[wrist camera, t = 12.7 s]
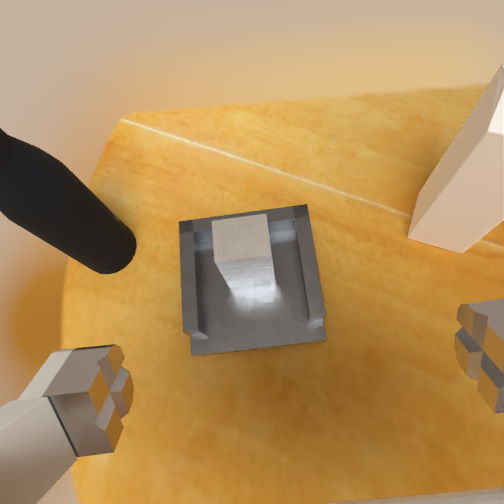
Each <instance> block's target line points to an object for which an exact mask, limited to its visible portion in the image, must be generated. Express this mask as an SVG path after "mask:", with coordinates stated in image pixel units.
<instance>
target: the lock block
mask: <svg viewBox="0 0 504 504" xmlns="http://www.w3.org/2000/svg"><path fill="white" fill-rule="evenodd" d="M212 234H213V248H214V262H215V264H216V266H217V267H218V269H219V271H220V272H221V274H222V276H223V277H224V279H225V281H226V282H227V284H228V286H229V287H230V288H237V287H245V286H253V285H261V284H269V283H276V282H275V274H274V266H273V258H272V250H271V243H270V236H269V229H268V222H267V215H266V214H259V215H251V216H244V217H237V218H229V219H222V220H214V221H212Z"/></svg>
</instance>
